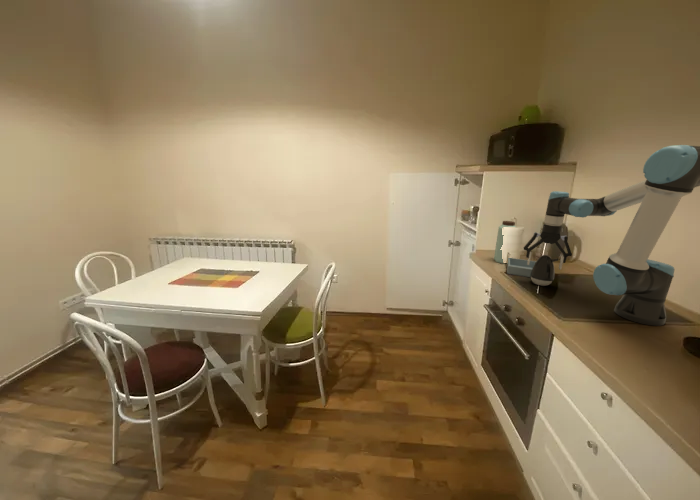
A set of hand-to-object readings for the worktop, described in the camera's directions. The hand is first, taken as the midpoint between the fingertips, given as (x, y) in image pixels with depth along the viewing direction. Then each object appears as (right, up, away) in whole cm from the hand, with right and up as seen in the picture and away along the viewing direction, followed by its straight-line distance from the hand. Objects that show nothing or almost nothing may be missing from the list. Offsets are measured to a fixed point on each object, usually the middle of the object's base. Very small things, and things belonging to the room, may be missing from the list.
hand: (543, 266), depth 155 cm
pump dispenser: (0, -9, +2) cm, 9 cm away
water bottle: (-2, +1, +38) cm, 38 cm away
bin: (+2, -4, +20) cm, 21 cm away
